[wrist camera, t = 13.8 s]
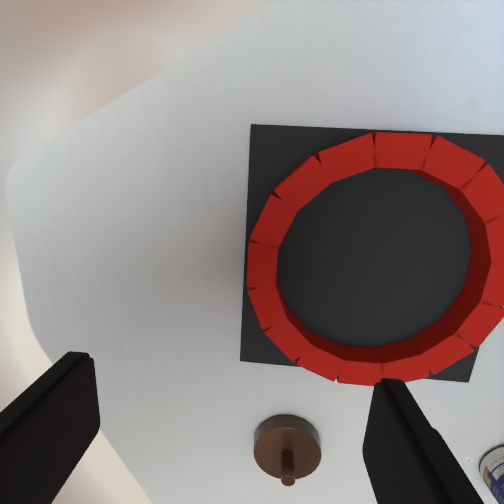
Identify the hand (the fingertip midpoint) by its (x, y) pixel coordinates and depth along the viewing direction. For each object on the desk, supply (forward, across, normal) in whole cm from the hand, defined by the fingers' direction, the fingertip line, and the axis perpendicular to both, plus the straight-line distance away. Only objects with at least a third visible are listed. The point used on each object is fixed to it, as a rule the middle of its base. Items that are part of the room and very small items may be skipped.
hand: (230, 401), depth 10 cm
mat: (+15, -9, 0) cm, 18 cm away
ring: (+15, -9, 0) cm, 18 cm away
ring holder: (+16, -4, +18) cm, 25 cm away
